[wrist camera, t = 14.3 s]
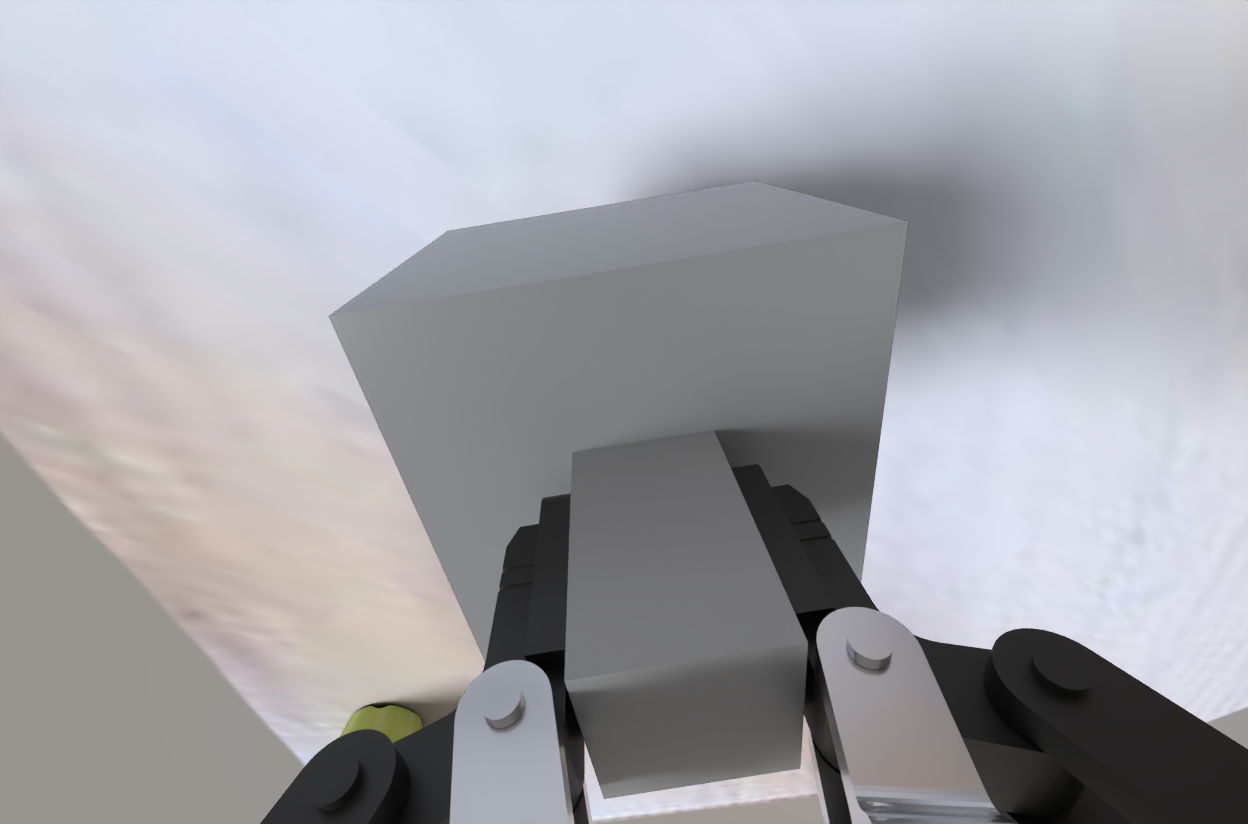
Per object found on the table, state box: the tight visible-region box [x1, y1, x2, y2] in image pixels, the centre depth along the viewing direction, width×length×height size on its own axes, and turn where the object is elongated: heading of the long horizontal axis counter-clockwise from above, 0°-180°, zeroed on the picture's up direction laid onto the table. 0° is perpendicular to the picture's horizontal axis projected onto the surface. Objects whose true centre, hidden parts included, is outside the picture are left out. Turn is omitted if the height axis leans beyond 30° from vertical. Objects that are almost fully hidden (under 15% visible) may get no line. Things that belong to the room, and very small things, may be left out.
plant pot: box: [340, 705, 423, 743], centre depth 39 cm, size 9×9×9 cm
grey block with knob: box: [329, 181, 908, 799], centre depth 13 cm, size 10×10×14 cm
